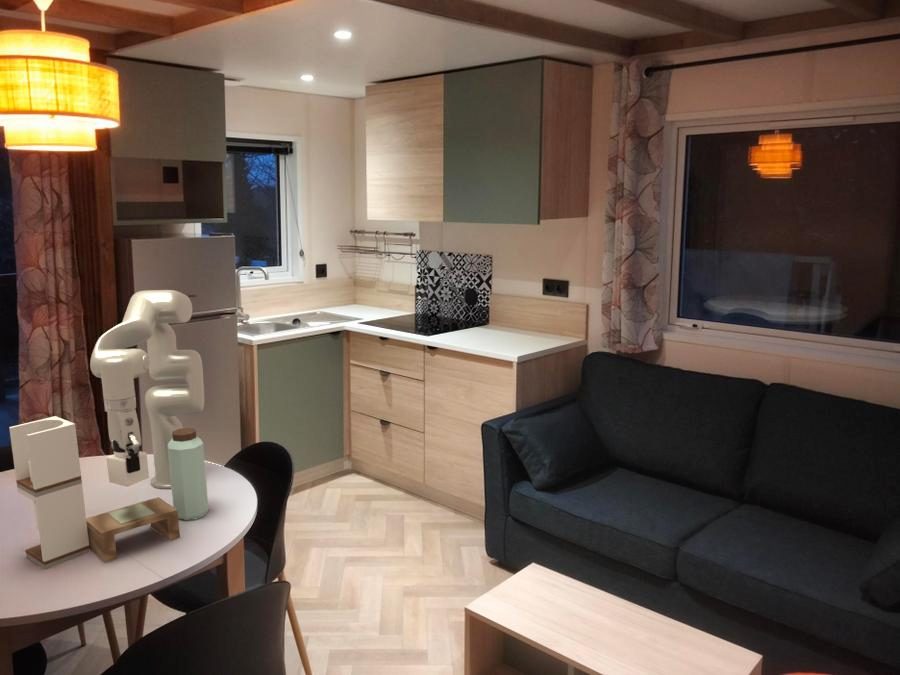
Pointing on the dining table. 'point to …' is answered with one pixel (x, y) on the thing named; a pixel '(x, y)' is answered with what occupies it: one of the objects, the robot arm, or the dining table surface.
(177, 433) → the water bottle
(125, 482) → the medicine bottle
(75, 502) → the white tower
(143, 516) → the bench shelf
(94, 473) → the dining table surface
